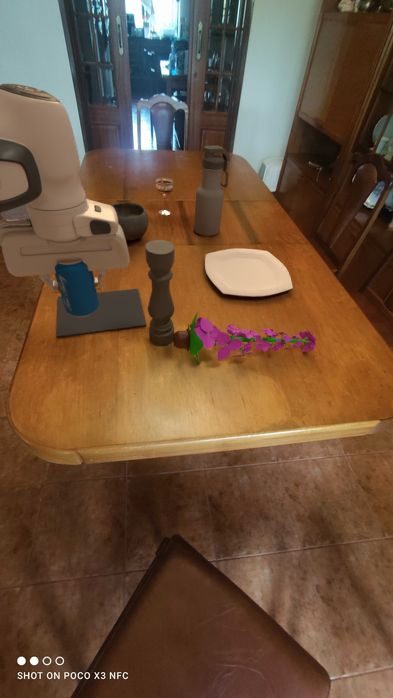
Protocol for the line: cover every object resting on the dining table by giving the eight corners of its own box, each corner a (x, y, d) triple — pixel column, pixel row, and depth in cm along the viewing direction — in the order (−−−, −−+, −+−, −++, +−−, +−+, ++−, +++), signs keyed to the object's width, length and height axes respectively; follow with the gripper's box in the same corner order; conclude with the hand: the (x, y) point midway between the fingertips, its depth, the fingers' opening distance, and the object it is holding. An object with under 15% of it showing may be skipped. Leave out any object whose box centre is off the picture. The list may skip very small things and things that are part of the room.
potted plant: (168, 353, 81) (293, 352, 89) (178, 377, 66) (328, 372, 73) (170, 306, 78) (299, 308, 85) (180, 318, 62) (337, 320, 70)
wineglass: (166, 207, 133) (166, 176, 125) (176, 213, 130) (176, 182, 121) (153, 210, 130) (152, 179, 122) (162, 217, 127) (162, 185, 118)
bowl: (105, 228, 117) (101, 201, 110) (145, 226, 120) (144, 199, 113) (108, 249, 107) (104, 220, 100) (152, 246, 111) (151, 217, 104)
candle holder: (177, 333, 81) (180, 242, 63) (168, 349, 77) (169, 257, 59) (155, 326, 82) (151, 236, 64) (145, 342, 78) (138, 250, 60)
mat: (56, 337, 77) (56, 336, 77) (58, 298, 88) (57, 296, 87) (146, 326, 82) (146, 324, 82) (138, 289, 93) (137, 288, 92)
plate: (269, 251, 114) (271, 246, 112) (302, 297, 96) (304, 292, 94) (196, 255, 108) (197, 250, 107) (216, 304, 91) (217, 299, 89)
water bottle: (214, 223, 126) (223, 142, 106) (224, 235, 120) (235, 151, 100) (190, 226, 123) (194, 143, 103) (199, 238, 117) (206, 152, 97)
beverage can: (58, 311, 62) (41, 257, 54) (81, 295, 66) (69, 241, 58) (84, 323, 61) (70, 269, 52) (106, 305, 65) (96, 252, 56)
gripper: (-17, 230, 46) (16, 305, 56) (127, 223, 50) (133, 294, 60) (-9, 211, 50) (20, 284, 60) (123, 206, 54) (130, 275, 64)
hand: (78, 289), depth 60 cm, fingers closed on beverage can, 6 cm apart
